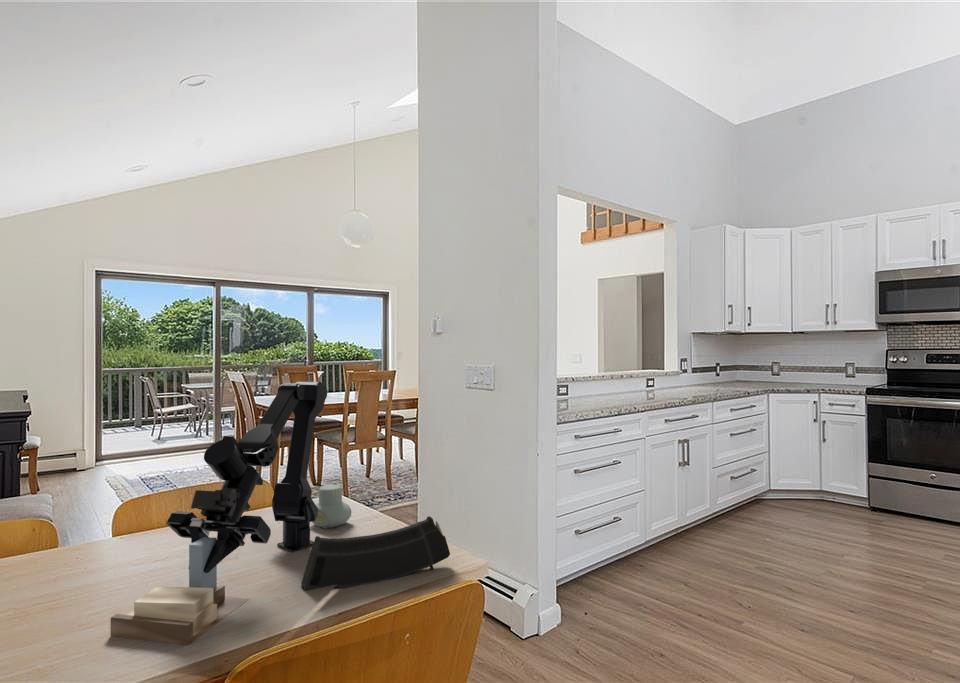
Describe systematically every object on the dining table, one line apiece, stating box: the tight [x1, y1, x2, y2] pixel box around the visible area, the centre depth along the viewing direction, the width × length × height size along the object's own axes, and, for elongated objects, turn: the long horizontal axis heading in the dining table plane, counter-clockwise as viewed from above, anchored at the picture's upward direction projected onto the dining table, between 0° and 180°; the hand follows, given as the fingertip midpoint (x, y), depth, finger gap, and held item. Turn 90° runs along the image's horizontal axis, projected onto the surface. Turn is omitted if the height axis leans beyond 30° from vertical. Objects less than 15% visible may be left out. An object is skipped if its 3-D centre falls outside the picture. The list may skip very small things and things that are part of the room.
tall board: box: [188, 536, 218, 589], centre depth 103 cm, size 4×3×10 cm, turn 169°
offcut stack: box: [126, 586, 217, 636], centre depth 96 cm, size 7×12×5 cm, turn 79°
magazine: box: [300, 515, 451, 591], centre depth 117 cm, size 17×3×30 cm
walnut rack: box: [110, 584, 250, 646], centre depth 99 cm, size 16×14×4 cm
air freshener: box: [311, 484, 352, 529], centre depth 152 cm, size 11×8×10 cm
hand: (197, 571), depth 102 cm, fingers closed on tall board, 3 cm apart
